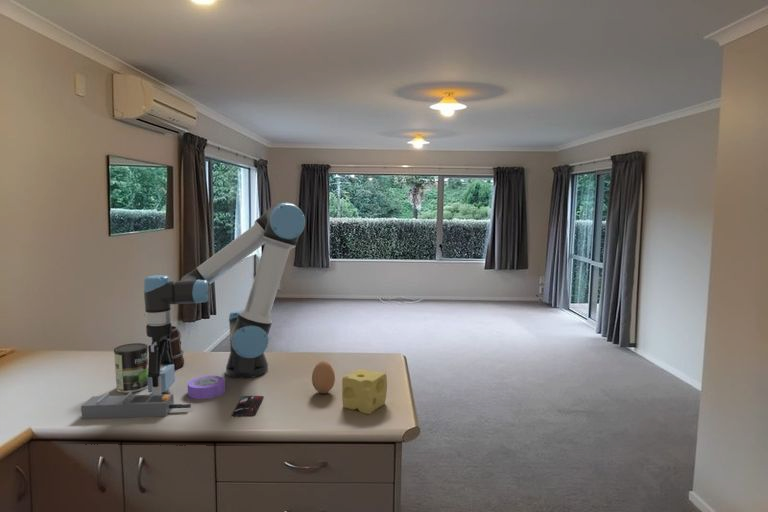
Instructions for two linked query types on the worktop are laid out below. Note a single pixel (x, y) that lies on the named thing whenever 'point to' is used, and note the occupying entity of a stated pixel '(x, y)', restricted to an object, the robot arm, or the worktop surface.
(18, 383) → the worktop surface
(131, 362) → the coffee can
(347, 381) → the cheese
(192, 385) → the masking tape
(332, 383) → the egg
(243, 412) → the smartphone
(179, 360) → the mug
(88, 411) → the power strip
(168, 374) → the block
